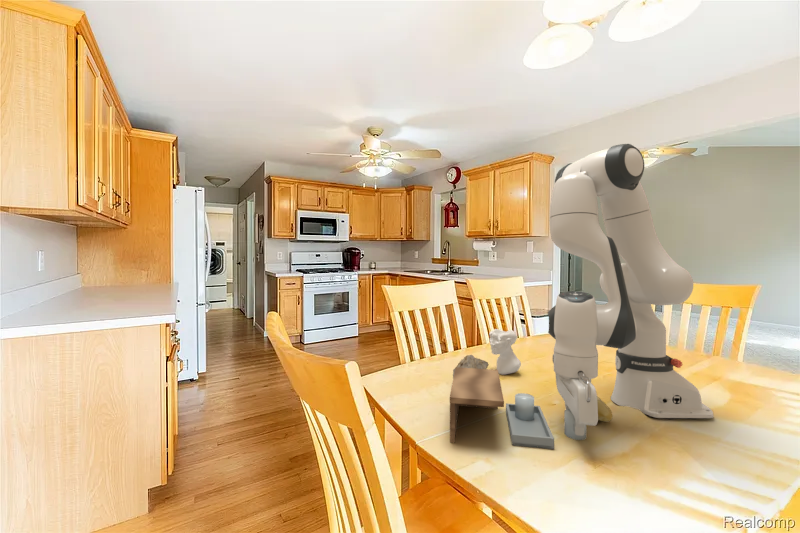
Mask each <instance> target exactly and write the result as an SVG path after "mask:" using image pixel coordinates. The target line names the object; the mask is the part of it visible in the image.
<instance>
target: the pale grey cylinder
mask: <svg viewBox="0 0 800 533" xmlns="http://www.w3.org/2000/svg"><path fill="white" fill-rule="evenodd" d="M514 404H515V417H516V418H517V419H520V420H523V421H531V420H533V419H534V406H535V396H533V394H532V395H531V394H529V393H525V392H523V393H522V392H520V393H515V395H514Z"/></svg>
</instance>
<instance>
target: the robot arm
mask: <svg viewBox="0 0 800 533" xmlns="http://www.w3.org/2000/svg"><path fill="white" fill-rule="evenodd" d="M644 170H645V160H644V156H643V154H642V152H641V151H640V149H639V148H637V147H635V146H634V144H633V145H632V144H631V143H621V144H620V143H619V144H615V145H612V146H610V147H607V148H605V149H602V150H598V151H595V152H593V153H589V154H587V155H586V156H583V157H582V158H579V159H578V160H576V161H574V162H571V163H567V164H566V165H565V166H563V167H562V168H560V169H559V170H558V171H557V173H556V175H555V179H554V185H553V189H552V192H551V198H550V205H549V220H548V221H549V233H550V238H551V241H552V242H553V243H554V245H555V246H556V247H557V248H559V249H560V250H562V251H563V252H565V253H567V254H570V255H572V256H576V257H579V258H582V259H585V260H587V261H589V262H592V263H594V264H595V265H597V267H598V268H599V269H600V271H601V274H600V276H599V286H600V289H601V291H602V292H603V293H604V294H605V295H606V297H607V300H608V301H607V303H604V304H597V303H596V298H595V296H594V295H593V294H590V293H589V292H584V291H579V290H577V291H575V290H572V291H571V290H570V291H568V290H567V291H563V292H560V293H558V295H557V296H556V302H555V305H554V306H553V307H552V308H550V309H549V310H548V312H547V316H548V332H547V333H548V334H549V335H550V336H551V337H552V338H553V339H555V342H554V343H555V344H554V347H553V354H552V363H553V371H554V374H555V384H556V390H557V392H558V393H559V395H560V397H561V398H562V400H563V401H564V407H565V410H566V409H570V411H571V413H572V414H573V416H574V419H575V424H574V429H573V430H574V432H575V434H576V435H579V436H583V435H584V428H585V425H586V426H597V425H598V421H599V420H598V404H597V396H598V394H597V389H596V387H595V385H594V384H593V383H592V380H593V379H595V378H597V377H598V376H599V352H598V349H597V346H603V347H608V348H614V349H617V350H616V351H615V352H616V353H615V359H614V360H615V361H614V362H615V370H616V376H615V382H614V386H613V387H614V388H613V390H612V394H611V396H610V400H611V401H612V402H613V403H614V404H616V405H618V406H619V407H629V408H633V409H635V410H639V411H640V412H641V413H642V414H644V415H647V416H649V417H653V418H657V419H714V411H713V410H712V409H711V408H710V407H709V406H708V405H706V404H704V403H703V402H702V397H701V394H700V391H699V389H698V388H697V387H696V386H695V384H693V383H692V382H691V381H689V380H688V379H687V378H685V377H684V376H682V374H680V373H678V372H677V371H676V370H674V367H675V368H678V369H680V368H681V367H682V366H683V361H681V360H680V359H678V358H673V357H671V356H669V355H667V329H666V326H665V324H664V323H663V321H661V320H660V319H659V317H657V315H656V314H655V312H654V310H653V306H652V305H655V306H670V305H680V304H682V303H684V302H686V301H687V300H688V299H689V298H690V297H691V295H692V293H693V290H694V280H693V277H692V275H691V273H690V271H688V270H687V269H686V268H684V267H683V266H681V265H680V264H678V263H677V262H676V261H675V260H674V259H673V258H671V256H670V255H669V254H668V252H667V251H666V250H665V248H664V247H663V245H662V243H661V242H660V239H659V237H658V234H657V232H656V226H655V224H654V220H653V216H652V212H651V207H650V202H649V200H648V197H647V194H646V191H645V190H644V187H643V185H642V183H641V179H642V177H643V175H644ZM598 197H599V199H600V209H601V216H602V220H603V225H604V229H605V233H604V231H603V230H602V228H601V225H600V222H599V206H598V205H599V204H598ZM620 257H621V258H622V259H623V261H624V262H621V259H620Z"/></svg>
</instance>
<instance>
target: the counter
mask: <svg viewBox="0 0 800 533" xmlns="http://www.w3.org/2000/svg"><path fill="white" fill-rule="evenodd" d="M455 367H456V366H455ZM455 367H454V369H455V373H454V378H453V377H452V383H451V384H452V385H451V389H450V394H449V442H450V443H453V444H454V443H455V442H456V435H457V426H458V417H459V410H460V407H469V408H477V409H478V408H480V409H492V410H493V409H494V410H498V409H499V408H505V399H504V394H503V390H502V384H501V380H500V374H499V373H498V370H497V369H491V368H490V369H489V368H487V369H475V368H458V367H456V368H455Z"/></svg>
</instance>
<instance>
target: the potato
mask: <svg viewBox="0 0 800 533" xmlns="http://www.w3.org/2000/svg"><path fill="white" fill-rule="evenodd" d="M597 404H598V421H600V422H603V423H604V422H610V421H611V420H612V419H613V416H614V415H613V412H612V410H611V409H610V407H609V406H607V404H606V402H604V401H603V400H602V399H601V398H600V397H599V396H598V395H597Z"/></svg>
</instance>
